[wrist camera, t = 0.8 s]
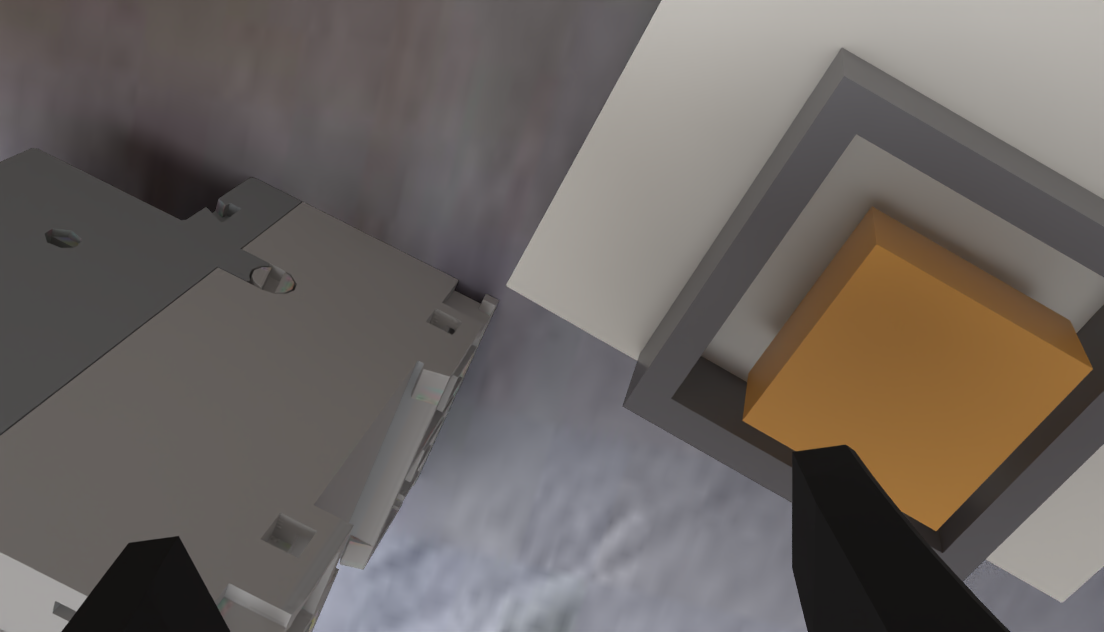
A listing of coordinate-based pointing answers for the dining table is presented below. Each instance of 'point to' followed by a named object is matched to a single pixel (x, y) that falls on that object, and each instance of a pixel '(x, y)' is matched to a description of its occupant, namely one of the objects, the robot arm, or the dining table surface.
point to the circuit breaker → (208, 391)
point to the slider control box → (844, 220)
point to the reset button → (914, 368)
